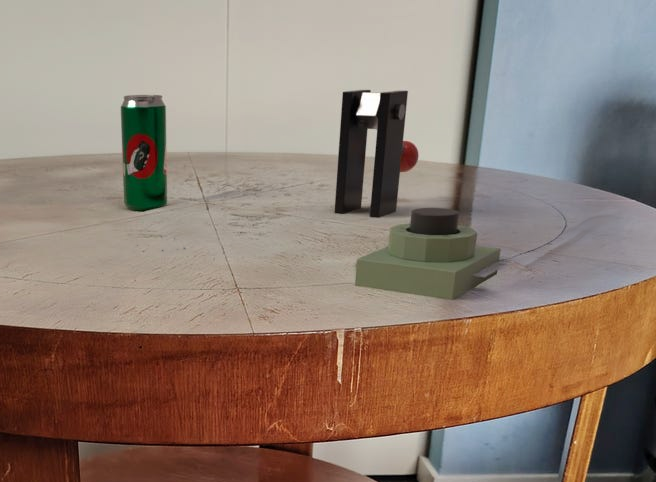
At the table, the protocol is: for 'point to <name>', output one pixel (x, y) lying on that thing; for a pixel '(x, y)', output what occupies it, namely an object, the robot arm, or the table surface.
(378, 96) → the lever
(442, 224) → the button
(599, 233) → the table surface
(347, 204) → the bracket
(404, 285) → the control block
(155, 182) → the soda can
